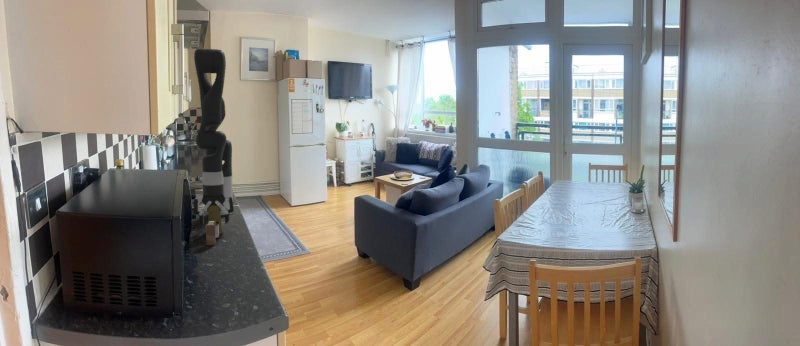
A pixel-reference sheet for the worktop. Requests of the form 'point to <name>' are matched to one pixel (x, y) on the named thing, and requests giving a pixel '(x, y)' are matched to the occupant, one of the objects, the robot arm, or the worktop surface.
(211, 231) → the beige upright block
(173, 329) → the worktop surface
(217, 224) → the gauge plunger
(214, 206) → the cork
